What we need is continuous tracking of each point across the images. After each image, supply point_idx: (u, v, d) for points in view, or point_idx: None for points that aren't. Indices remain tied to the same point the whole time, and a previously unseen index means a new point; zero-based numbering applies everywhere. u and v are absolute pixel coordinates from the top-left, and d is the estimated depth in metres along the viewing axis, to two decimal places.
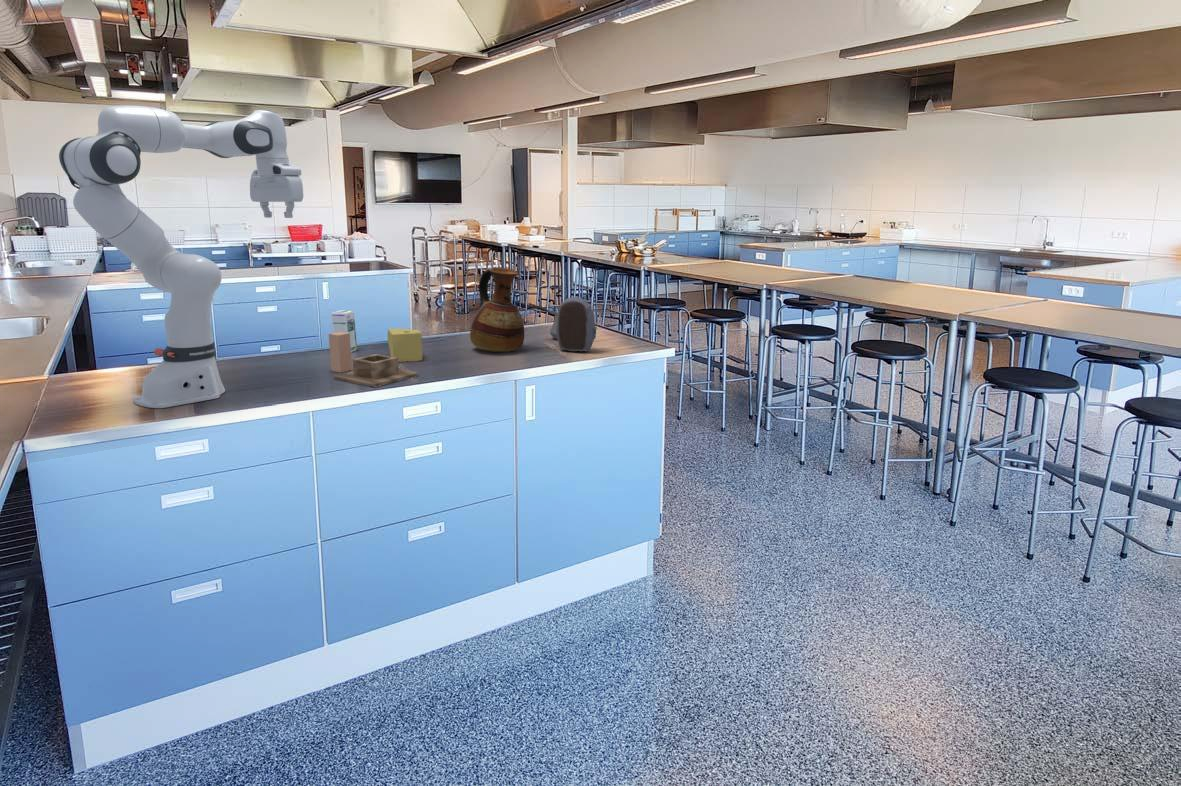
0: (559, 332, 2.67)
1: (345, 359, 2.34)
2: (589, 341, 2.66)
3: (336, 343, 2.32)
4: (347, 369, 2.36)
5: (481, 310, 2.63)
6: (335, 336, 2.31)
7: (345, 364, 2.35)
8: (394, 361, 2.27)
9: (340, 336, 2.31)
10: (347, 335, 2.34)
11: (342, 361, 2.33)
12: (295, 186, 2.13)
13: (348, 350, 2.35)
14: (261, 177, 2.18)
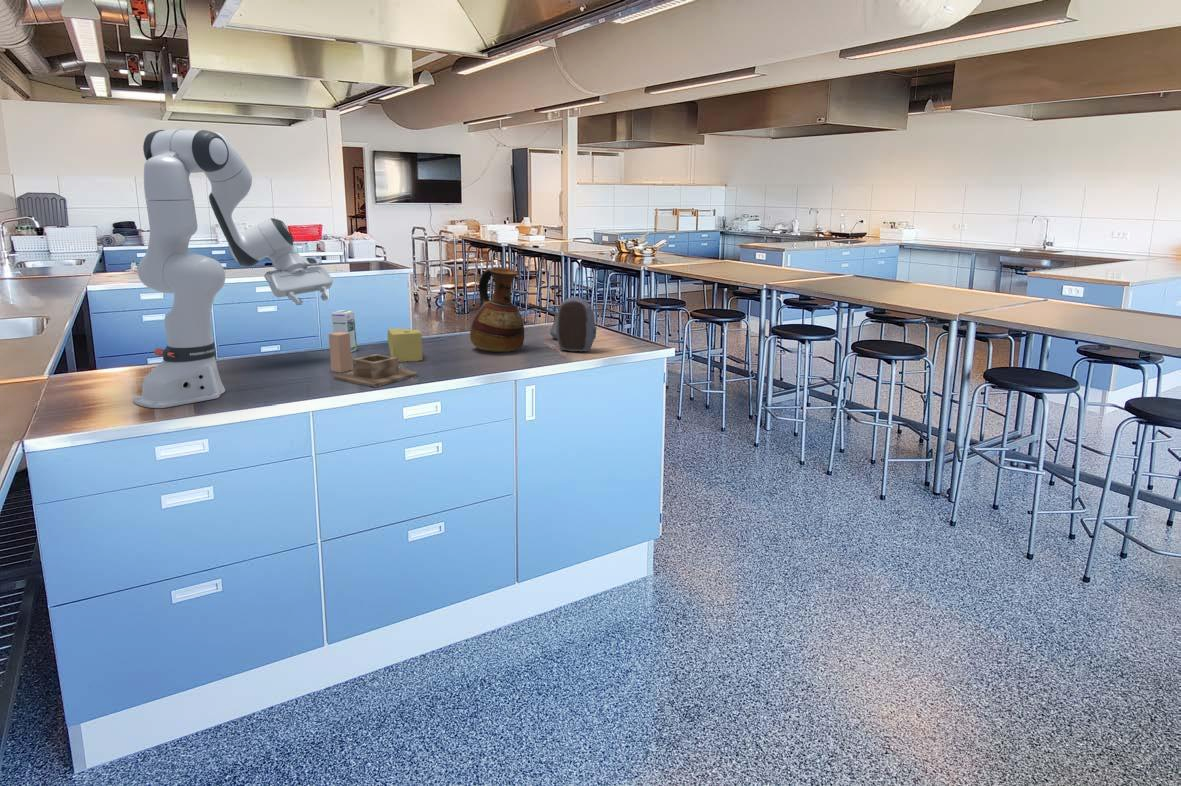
0: (559, 332, 2.67)
1: (345, 359, 2.34)
2: (589, 341, 2.66)
3: (336, 343, 2.32)
4: (347, 369, 2.36)
5: (481, 310, 2.63)
6: (335, 336, 2.31)
7: (345, 364, 2.35)
8: (394, 361, 2.27)
9: (340, 336, 2.31)
10: (347, 335, 2.34)
11: (342, 361, 2.33)
12: None
13: (348, 350, 2.35)
14: (287, 271, 2.36)
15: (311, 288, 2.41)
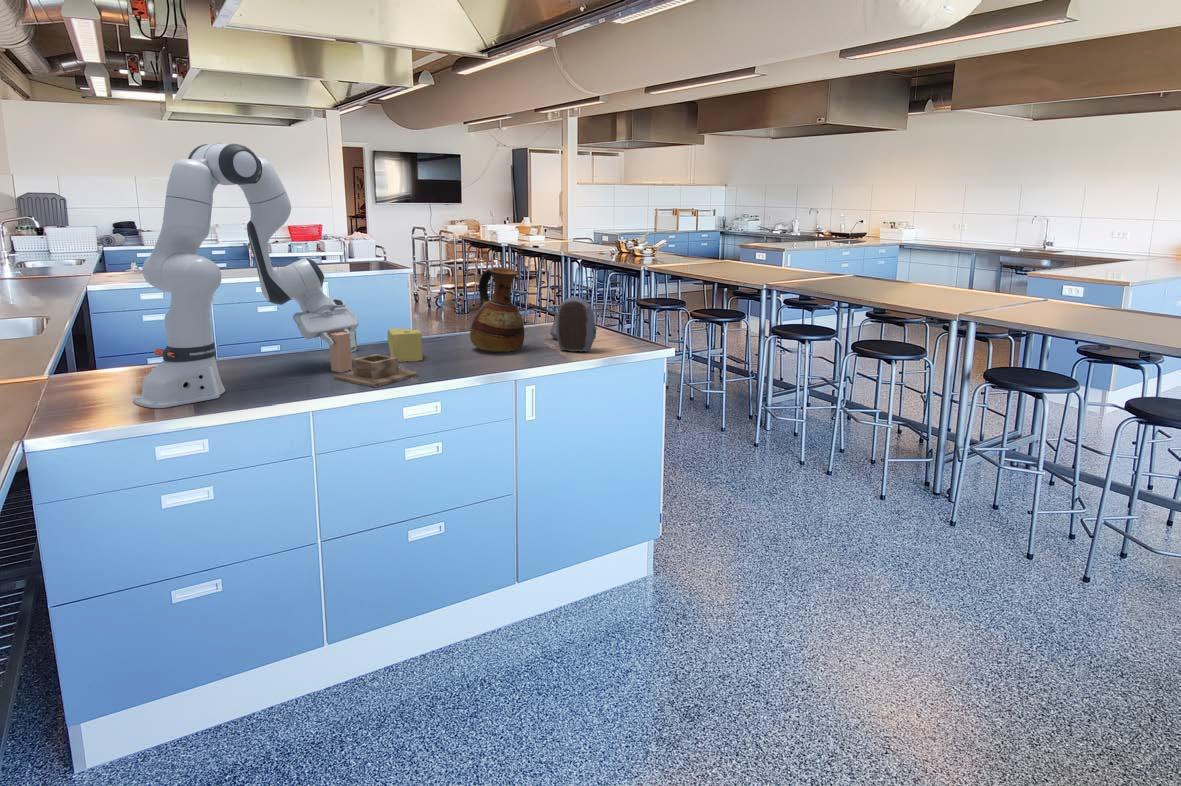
0: (559, 332, 2.67)
1: (344, 359, 2.34)
2: (589, 341, 2.66)
3: (336, 343, 2.32)
4: (347, 369, 2.36)
5: (481, 310, 2.63)
6: (335, 336, 2.31)
7: (345, 364, 2.35)
8: (394, 361, 2.27)
9: (340, 336, 2.31)
10: (347, 335, 2.34)
11: (342, 361, 2.33)
12: None
13: (348, 350, 2.35)
14: (315, 313, 2.32)
15: (338, 330, 2.38)
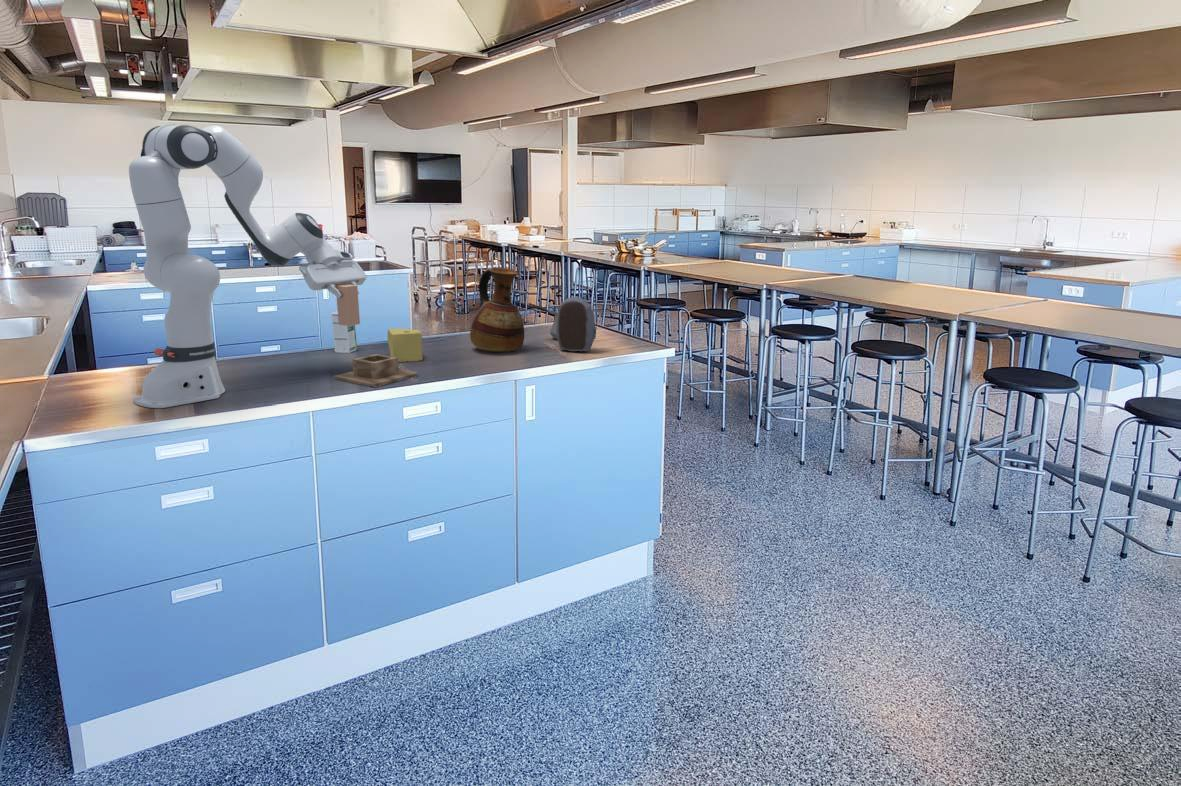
0: (559, 332, 2.67)
1: (352, 312, 2.28)
2: (589, 341, 2.66)
3: None
4: (355, 323, 2.29)
5: (481, 310, 2.63)
6: (342, 288, 2.25)
7: (352, 318, 2.28)
8: (394, 361, 2.27)
9: (348, 288, 2.25)
10: (355, 288, 2.27)
11: (349, 313, 2.27)
12: None
13: (355, 303, 2.28)
14: (321, 264, 2.26)
15: (345, 283, 2.31)
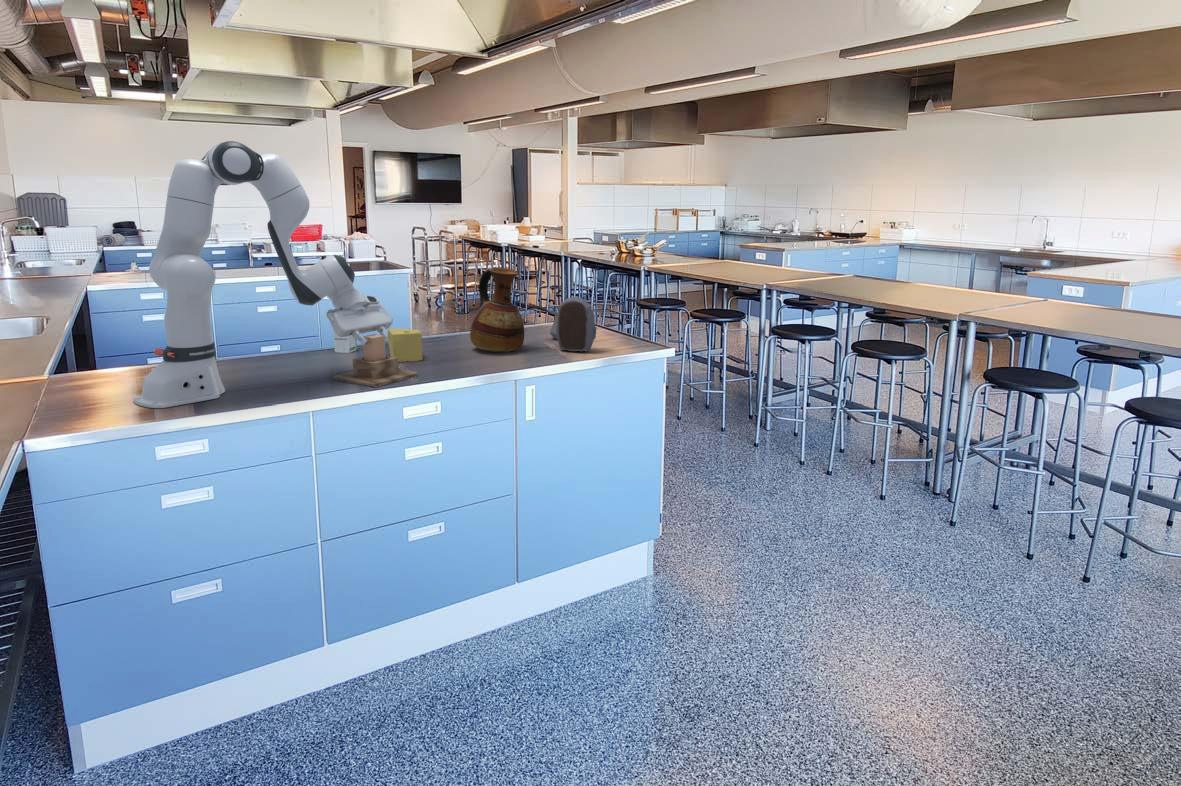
0: (559, 332, 2.67)
1: None
2: (589, 341, 2.66)
3: (370, 346, 2.23)
4: None
5: (481, 310, 2.63)
6: (370, 339, 2.23)
7: None
8: (394, 361, 2.27)
9: (375, 339, 2.23)
10: (382, 338, 2.25)
11: None
12: None
13: (383, 353, 2.26)
14: (348, 310, 2.23)
15: (372, 328, 2.29)
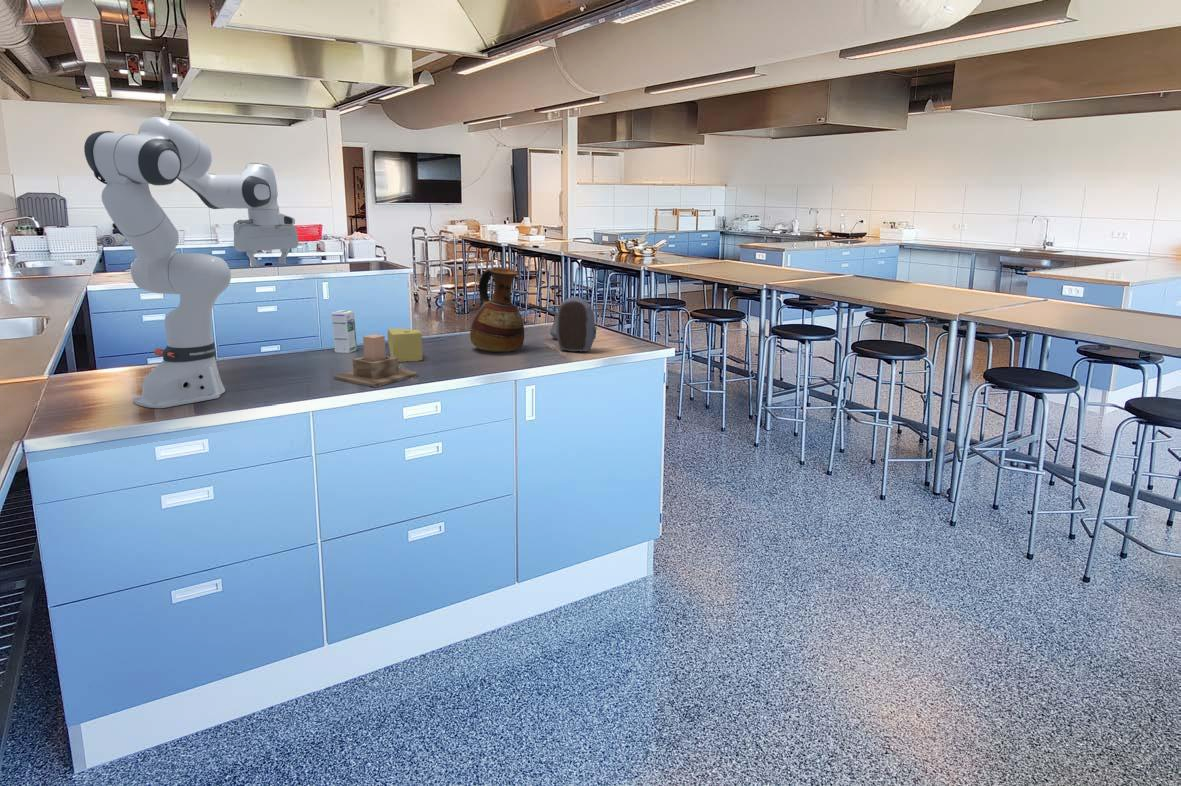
0: (559, 332, 2.67)
1: None
2: (589, 341, 2.66)
3: (370, 346, 2.23)
4: None
5: (481, 310, 2.63)
6: (370, 339, 2.23)
7: None
8: (394, 361, 2.27)
9: (375, 339, 2.23)
10: (382, 338, 2.25)
11: None
12: None
13: (383, 353, 2.26)
14: (258, 227, 2.22)
15: None
